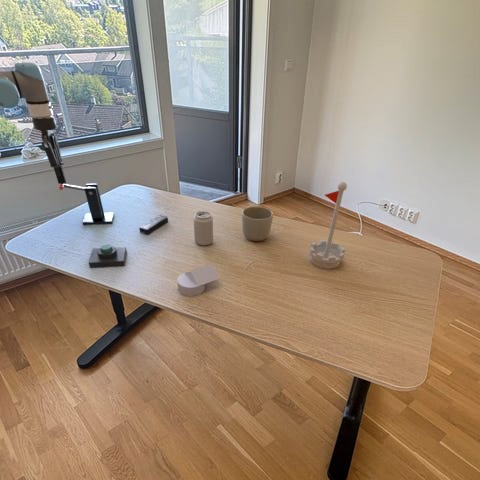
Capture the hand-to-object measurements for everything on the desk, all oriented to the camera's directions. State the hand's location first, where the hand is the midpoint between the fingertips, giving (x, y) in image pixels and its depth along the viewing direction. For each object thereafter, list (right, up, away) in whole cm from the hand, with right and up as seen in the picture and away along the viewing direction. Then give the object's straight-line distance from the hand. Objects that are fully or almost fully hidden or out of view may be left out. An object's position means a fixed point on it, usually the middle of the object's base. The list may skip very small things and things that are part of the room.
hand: (62, 182), depth 139 cm
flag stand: (+105, -33, -6) cm, 110 cm away
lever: (+5, -2, +3) cm, 6 cm away
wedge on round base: (+57, -44, -22) cm, 75 cm away
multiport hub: (+35, -16, +9) cm, 39 cm away
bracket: (+10, -11, +12) cm, 19 cm away
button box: (+23, -33, -12) cm, 42 cm away
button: (+23, -30, -14) cm, 41 cm away
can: (+57, -24, +1) cm, 62 cm away
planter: (+78, -21, +6) cm, 81 cm away
